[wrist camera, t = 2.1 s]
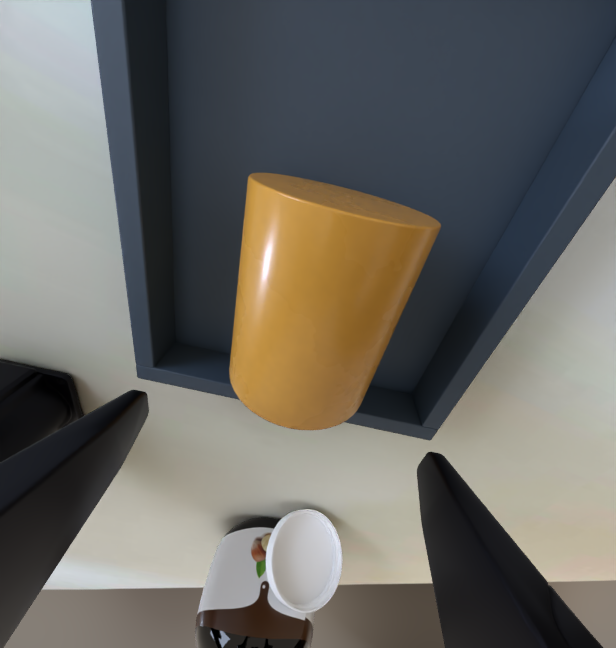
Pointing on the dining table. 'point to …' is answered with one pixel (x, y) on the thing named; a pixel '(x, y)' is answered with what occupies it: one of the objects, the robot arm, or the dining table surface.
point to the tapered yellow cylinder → (319, 296)
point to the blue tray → (355, 162)
